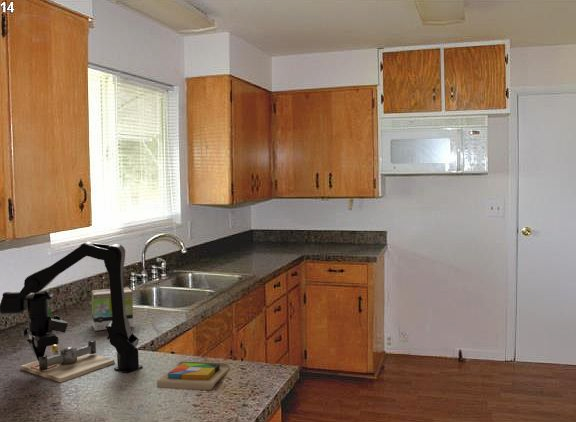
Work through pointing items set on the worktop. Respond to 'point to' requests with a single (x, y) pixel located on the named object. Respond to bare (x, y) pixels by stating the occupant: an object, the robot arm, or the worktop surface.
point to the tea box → (108, 308)
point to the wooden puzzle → (194, 375)
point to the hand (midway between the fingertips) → (40, 361)
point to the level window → (41, 370)
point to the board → (70, 367)
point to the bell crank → (66, 355)
